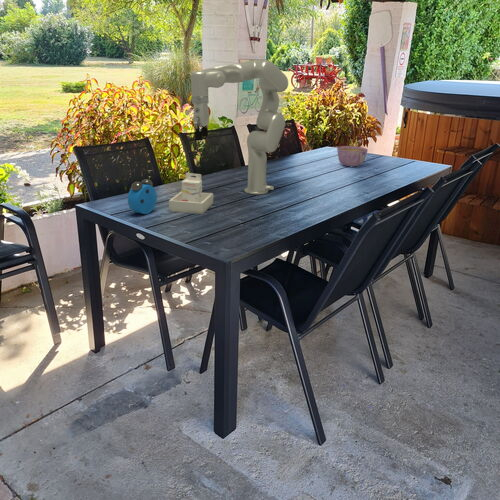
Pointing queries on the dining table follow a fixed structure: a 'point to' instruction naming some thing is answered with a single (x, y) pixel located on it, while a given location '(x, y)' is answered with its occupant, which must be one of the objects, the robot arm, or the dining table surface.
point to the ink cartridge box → (192, 188)
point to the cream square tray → (190, 204)
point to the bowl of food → (351, 155)
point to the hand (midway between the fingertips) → (201, 138)
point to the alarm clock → (142, 197)
